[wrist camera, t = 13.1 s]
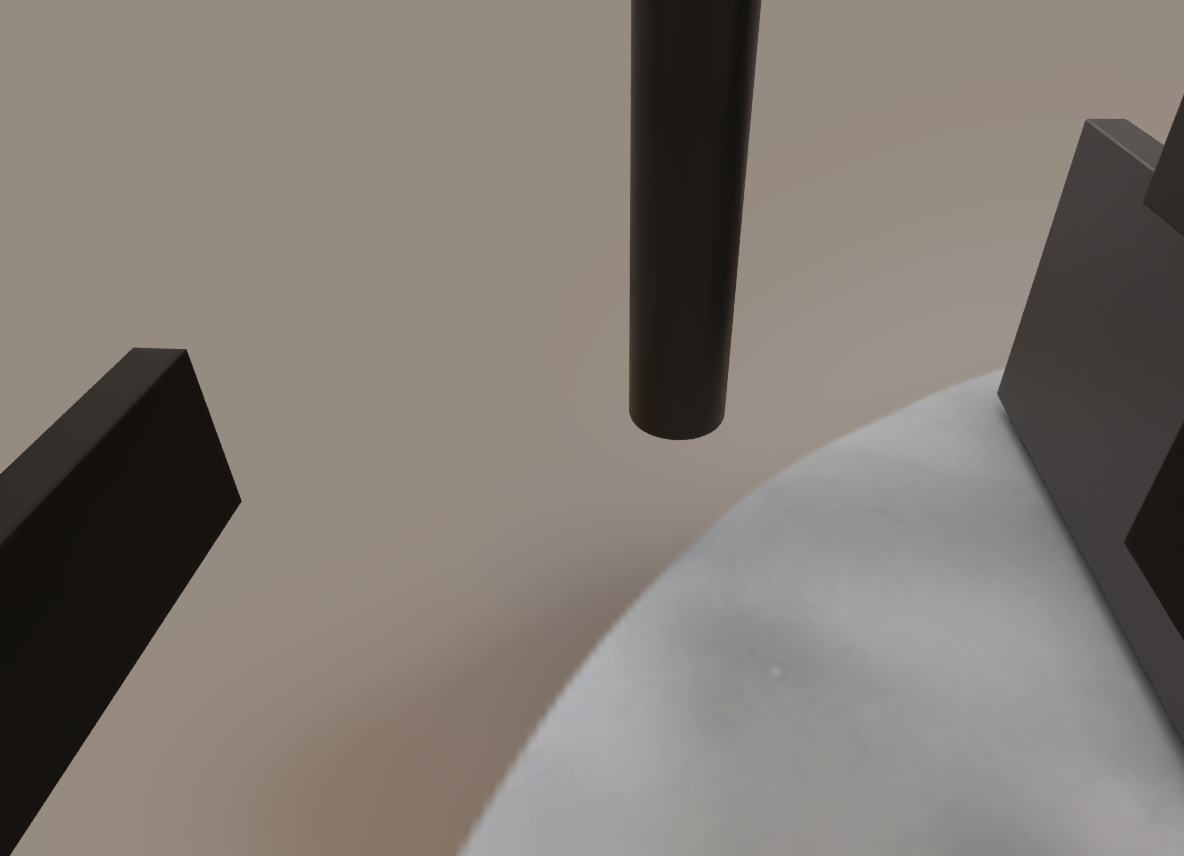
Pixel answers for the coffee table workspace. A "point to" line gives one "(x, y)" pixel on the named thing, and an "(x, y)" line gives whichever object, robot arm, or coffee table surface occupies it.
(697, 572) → the coffee table surface
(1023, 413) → the basket
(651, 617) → the coffee table surface
